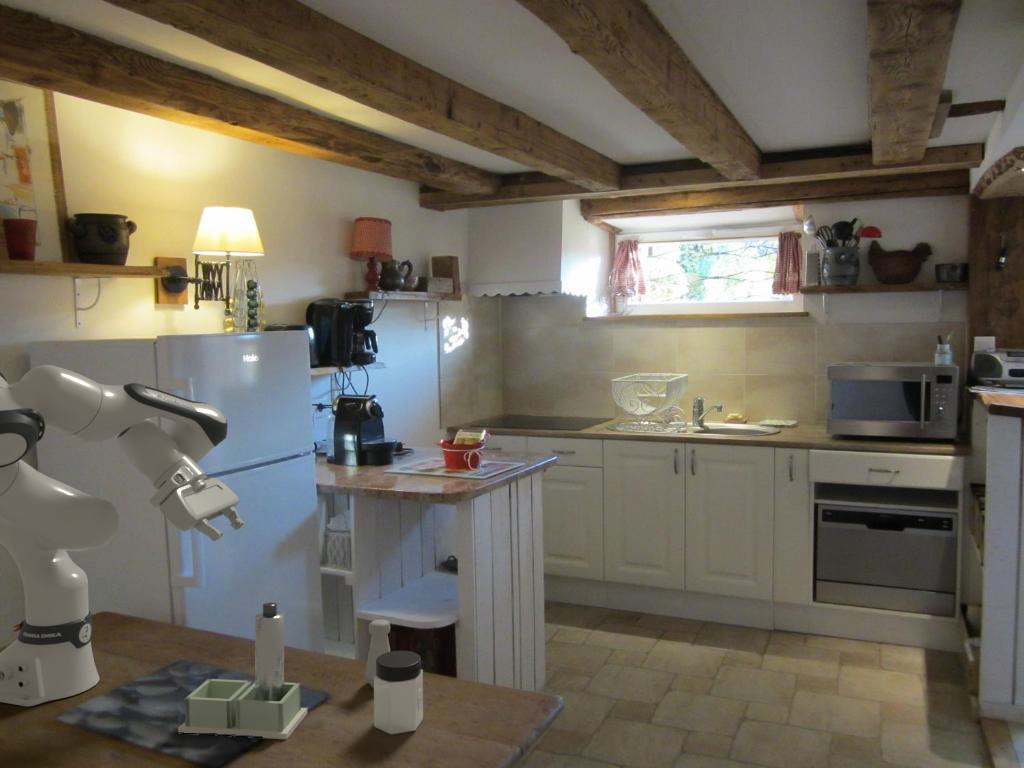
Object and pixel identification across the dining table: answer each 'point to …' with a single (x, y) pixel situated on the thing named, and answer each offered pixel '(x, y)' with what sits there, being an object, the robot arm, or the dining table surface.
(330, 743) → the dining table surface
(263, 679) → the pepper mill
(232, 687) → the green divided tray
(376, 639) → the salt shaker
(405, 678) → the jar
